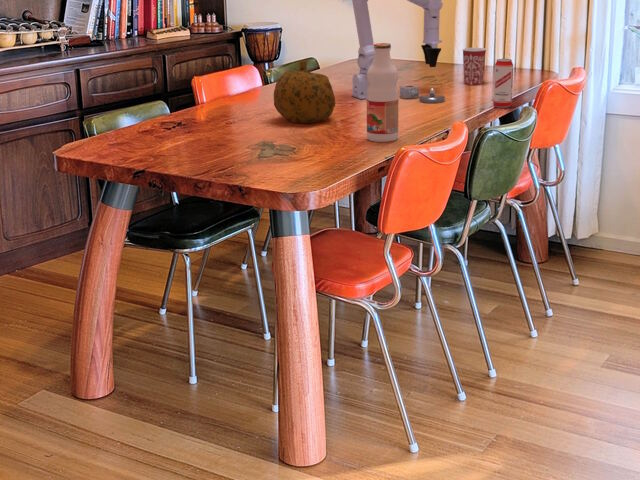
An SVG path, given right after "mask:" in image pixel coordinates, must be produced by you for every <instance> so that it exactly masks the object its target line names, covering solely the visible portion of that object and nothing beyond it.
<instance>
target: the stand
mask: <svg viewBox="0 0 640 480" xmlns="http://www.w3.org/2000/svg"><path fill="white" fill-rule="evenodd" d="M399 99H402V100H417V99H420V96H419V97H411V98H405V97H402V96H400V95H399Z"/></svg>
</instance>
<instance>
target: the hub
mask: <svg viewBox="0 0 640 480" xmlns="http://www.w3.org/2000/svg"><path fill="white" fill-rule="evenodd" d="M435 91H436V90H435V88H434V87H430V88H429V94H423V95H419V103H423V104H440V103H441V104H442V103H444V102H445V101H446V96H445V95H441V94H435V93H436V92H435Z"/></svg>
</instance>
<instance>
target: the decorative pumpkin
mask: <svg viewBox="0 0 640 480" xmlns="http://www.w3.org/2000/svg"><path fill="white" fill-rule="evenodd" d="M307 63H308V62H307V60H300V61H299V70H297V69H296V70H287V71H285V72H284V73H283V74H281V76H280V77H279V78H278V79H277V81H276V82H275V87H274V91H273V105H274V108H275V109H276V112H278V113H279V115H281V116H282V117H283V118H285V120H288V121H290V122H292V123H295V124H296V123H297V124H298V123H299V124H300V123H302V124H307V125H310V124H312V123H314V122H315V123H316V122H322V121H325V120H326V119H328V118H329V117H330V116H331V115H332V114H333V112H334V110H335V109H334V108H335V107H336V104H337V103H336V95H335V93H334V91H333V90H334V89H333V86H332V85H331V84H332V83H331V82H330V79H329V77H328V76H327V75H326V74H322V73H319V72H318V73H315V72H311V71H308V68H307Z"/></svg>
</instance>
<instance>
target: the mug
mask: <svg viewBox="0 0 640 480" xmlns="http://www.w3.org/2000/svg"><path fill="white" fill-rule="evenodd" d="M486 53H487V49H486V48H485V47H484V48H483V47H466V48H463V49H462V58H463V59H462V62H463V84H464V85H466V86H481V85H483V83H484V82H483V81H484V72H485V63H486V62H485V60H486Z"/></svg>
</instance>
